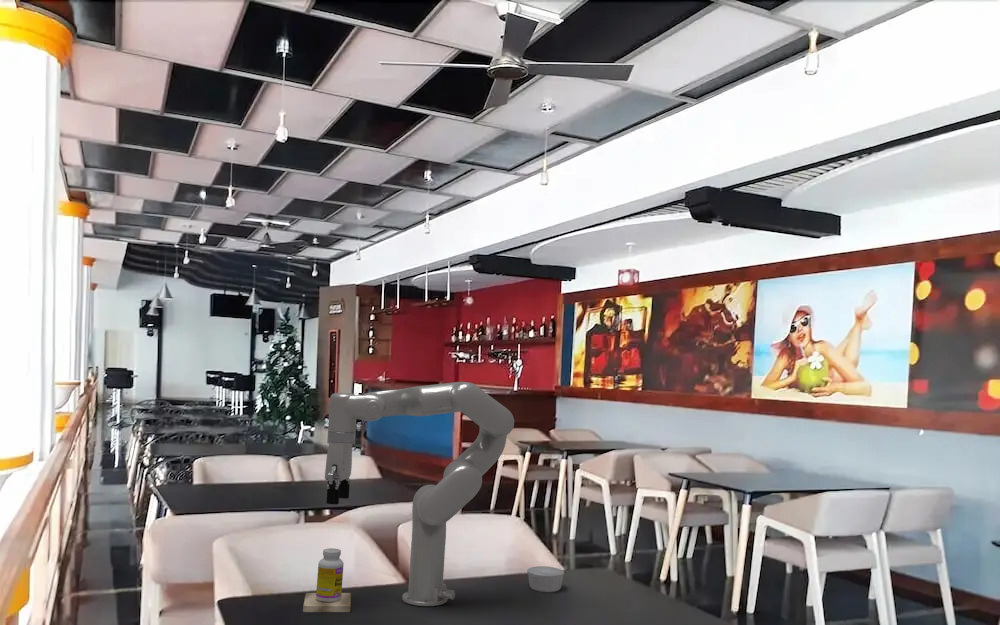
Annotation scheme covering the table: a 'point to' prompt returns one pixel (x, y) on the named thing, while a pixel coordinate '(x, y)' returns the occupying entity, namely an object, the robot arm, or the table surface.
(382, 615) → the table surface
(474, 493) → the robot arm
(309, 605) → the birch board
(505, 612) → the table surface
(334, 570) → the supplement bottle
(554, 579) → the ramekin
